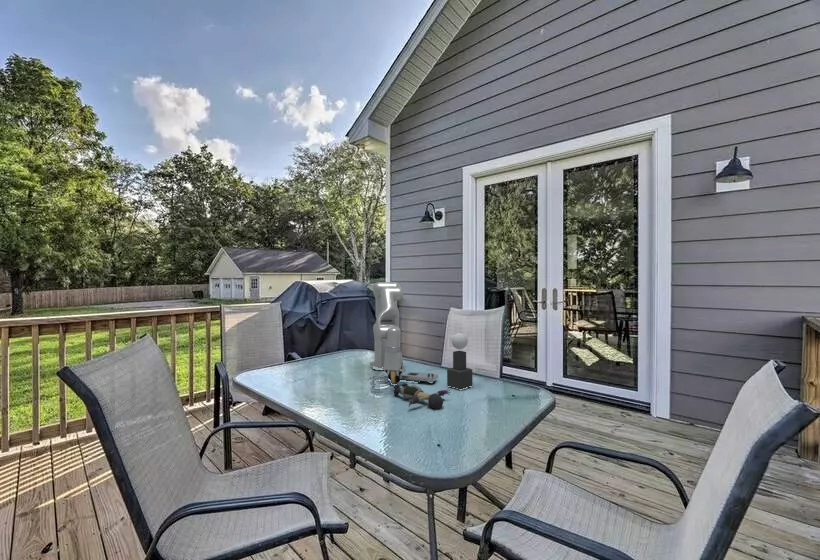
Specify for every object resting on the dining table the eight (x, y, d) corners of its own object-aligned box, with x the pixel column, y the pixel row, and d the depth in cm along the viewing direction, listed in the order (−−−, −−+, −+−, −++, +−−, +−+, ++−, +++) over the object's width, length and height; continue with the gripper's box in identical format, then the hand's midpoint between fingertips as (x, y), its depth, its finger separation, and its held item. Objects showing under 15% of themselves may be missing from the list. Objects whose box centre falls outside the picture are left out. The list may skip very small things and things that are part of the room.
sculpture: (459, 383, 212) (458, 331, 212) (472, 387, 204) (472, 333, 205) (446, 386, 206) (446, 332, 206) (460, 390, 198) (459, 334, 198)
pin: (389, 385, 209) (389, 367, 209) (392, 383, 213) (392, 366, 213) (395, 386, 207) (395, 368, 208) (398, 384, 211) (398, 366, 211)
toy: (378, 400, 183) (419, 418, 160) (378, 386, 183) (419, 402, 160) (419, 389, 200) (460, 404, 177) (419, 377, 200) (460, 389, 177)
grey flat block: (388, 380, 219) (388, 372, 219) (394, 376, 228) (394, 368, 228) (432, 385, 209) (432, 376, 209) (438, 381, 218) (438, 372, 218)
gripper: (377, 349, 210) (377, 382, 210) (404, 351, 204) (404, 385, 203) (383, 347, 217) (383, 379, 217) (409, 349, 211) (410, 381, 210)
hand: (393, 381), depth 210 cm, fingers closed on pin, 4 cm apart
